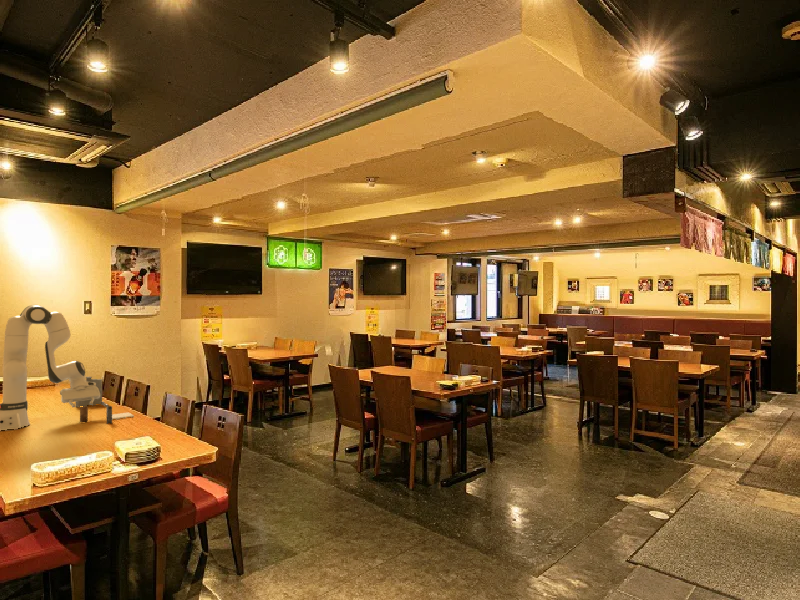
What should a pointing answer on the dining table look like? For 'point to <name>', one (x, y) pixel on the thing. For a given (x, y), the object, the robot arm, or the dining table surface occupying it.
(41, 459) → the dining table surface
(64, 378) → the robot arm
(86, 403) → the hip flask
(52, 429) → the dining table surface
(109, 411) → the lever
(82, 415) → the walnut peg
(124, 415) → the plate
